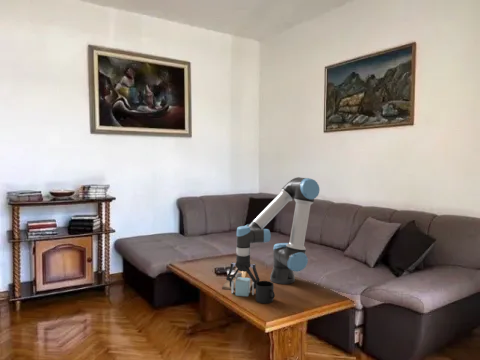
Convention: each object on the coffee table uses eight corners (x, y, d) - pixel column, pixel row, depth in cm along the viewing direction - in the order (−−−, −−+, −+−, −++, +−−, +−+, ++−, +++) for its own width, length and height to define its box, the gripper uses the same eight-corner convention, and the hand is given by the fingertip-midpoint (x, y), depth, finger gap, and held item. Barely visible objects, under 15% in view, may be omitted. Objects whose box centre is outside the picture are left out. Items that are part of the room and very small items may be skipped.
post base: (253, 281, 228) (253, 270, 228) (249, 290, 212) (249, 278, 212) (228, 280, 231) (228, 268, 231) (222, 288, 215) (222, 276, 215)
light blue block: (250, 291, 211) (250, 276, 210) (248, 296, 204) (248, 280, 203) (237, 291, 212) (238, 276, 212) (235, 295, 205) (235, 280, 205)
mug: (267, 306, 190) (268, 289, 189) (251, 299, 199) (252, 283, 198) (280, 302, 196) (280, 285, 196) (264, 295, 205) (264, 279, 205)
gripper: (265, 254, 208) (264, 292, 209) (224, 251, 213) (223, 289, 214) (263, 257, 201) (262, 297, 202) (221, 254, 205) (220, 294, 206)
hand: (242, 293), depth 208 cm, fingers open, 11 cm apart
